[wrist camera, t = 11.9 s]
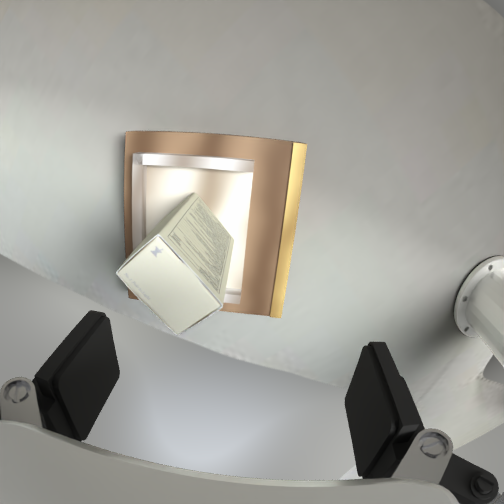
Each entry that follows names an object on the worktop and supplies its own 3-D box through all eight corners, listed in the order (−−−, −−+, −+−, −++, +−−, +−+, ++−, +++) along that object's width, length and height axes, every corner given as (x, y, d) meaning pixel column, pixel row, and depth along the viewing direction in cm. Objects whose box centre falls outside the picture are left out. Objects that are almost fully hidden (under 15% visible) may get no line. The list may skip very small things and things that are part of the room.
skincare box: (163, 217, 30) (109, 270, 19) (197, 189, 29) (156, 229, 18) (204, 266, 32) (174, 339, 21) (239, 240, 31) (225, 307, 20)
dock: (302, 142, 30) (309, 144, 26) (279, 302, 37) (281, 324, 33) (137, 130, 30) (119, 132, 26) (137, 285, 37) (124, 304, 33)
